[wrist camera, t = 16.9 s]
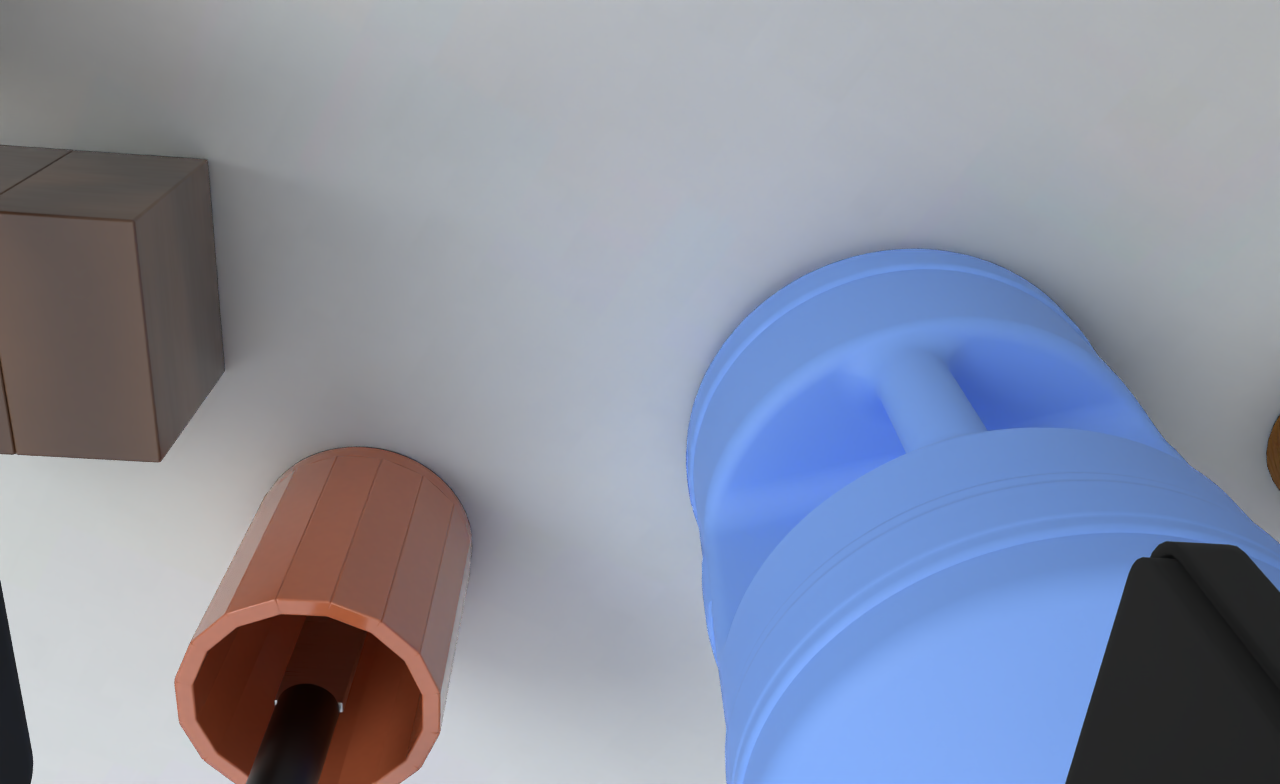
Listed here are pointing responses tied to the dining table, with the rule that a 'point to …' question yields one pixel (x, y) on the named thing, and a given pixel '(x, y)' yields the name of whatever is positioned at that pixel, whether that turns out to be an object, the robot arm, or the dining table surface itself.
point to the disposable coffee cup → (1274, 453)
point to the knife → (308, 703)
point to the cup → (336, 614)
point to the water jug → (924, 524)
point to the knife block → (104, 302)
